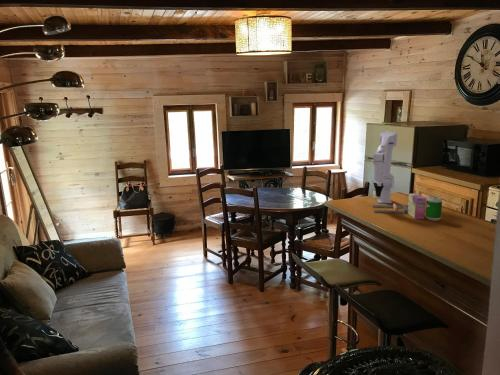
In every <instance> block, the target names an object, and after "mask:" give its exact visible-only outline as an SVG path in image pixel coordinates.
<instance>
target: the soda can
mask: <svg viewBox="0 0 500 375" xmlns="http://www.w3.org/2000/svg"><path fill="white" fill-rule="evenodd" d="M442 209H443V199H442V198H441V197H440V196H428V198H426V207H425V218H426V219H427V220H429V221H432V222H433V221H434V222H435V221H436V222H437V221H440V220H441V219H442V211H443V210H442Z"/></svg>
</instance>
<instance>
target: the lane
mask: <svg viewBox="0 0 500 375" xmlns="http://www.w3.org/2000/svg"><path fill="white" fill-rule="evenodd" d="M396 207H397V209H402V210H397V211H394V210H389V209H393V204H391V205H390V204H389V205H387V204H386V205H385V204H373V205H372V208H382V209H383V208H385V209H387V210H385V209H384V210H381V209H374V211H373V212H374V213H377V214H378V213H380V214H408V206H406V204H401V205H396ZM408 215H409V214H408Z"/></svg>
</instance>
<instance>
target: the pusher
mask: <svg viewBox="0 0 500 375" xmlns="http://www.w3.org/2000/svg"><path fill="white" fill-rule="evenodd" d="M392 205H393V208H392V209H393V211H398V208H397V207H396V206H397V204H396V203H392Z"/></svg>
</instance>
